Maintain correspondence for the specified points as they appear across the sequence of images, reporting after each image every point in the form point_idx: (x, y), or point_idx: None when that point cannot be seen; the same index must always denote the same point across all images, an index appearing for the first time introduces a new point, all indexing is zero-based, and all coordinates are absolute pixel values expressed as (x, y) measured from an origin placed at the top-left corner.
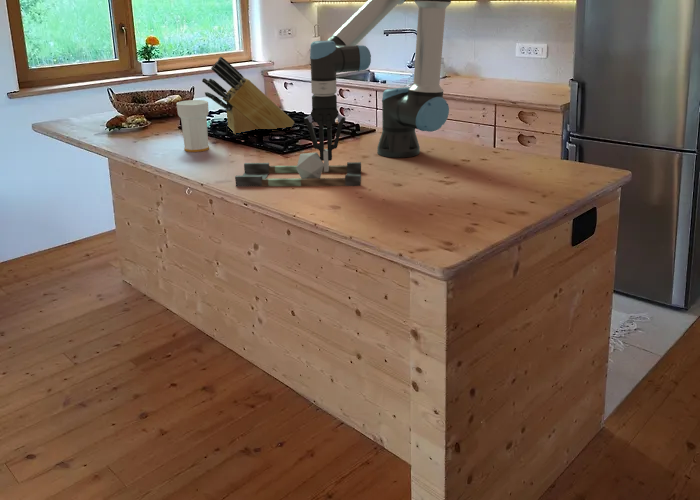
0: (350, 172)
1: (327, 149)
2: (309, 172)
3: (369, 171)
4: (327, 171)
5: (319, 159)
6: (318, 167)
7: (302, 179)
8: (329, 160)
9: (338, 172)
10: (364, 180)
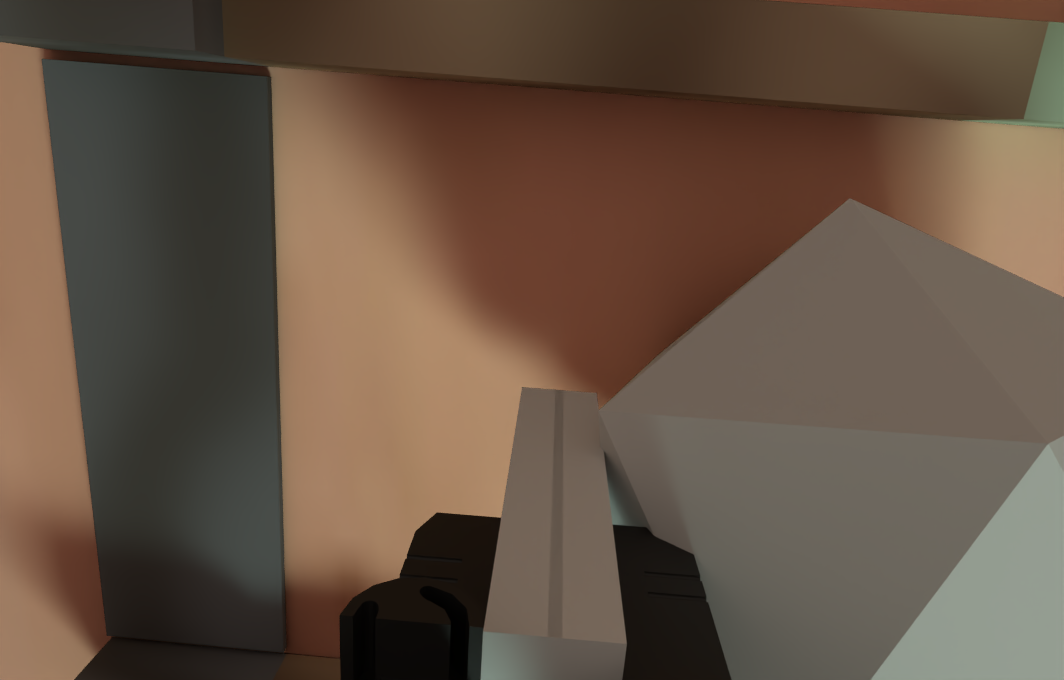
0: (239, 631)
1: (482, 627)
2: (892, 220)
3: (16, 669)
4: (536, 390)
5: (709, 518)
6: (718, 324)
7: (1015, 34)
8: (475, 516)
9: None
10: (18, 270)
